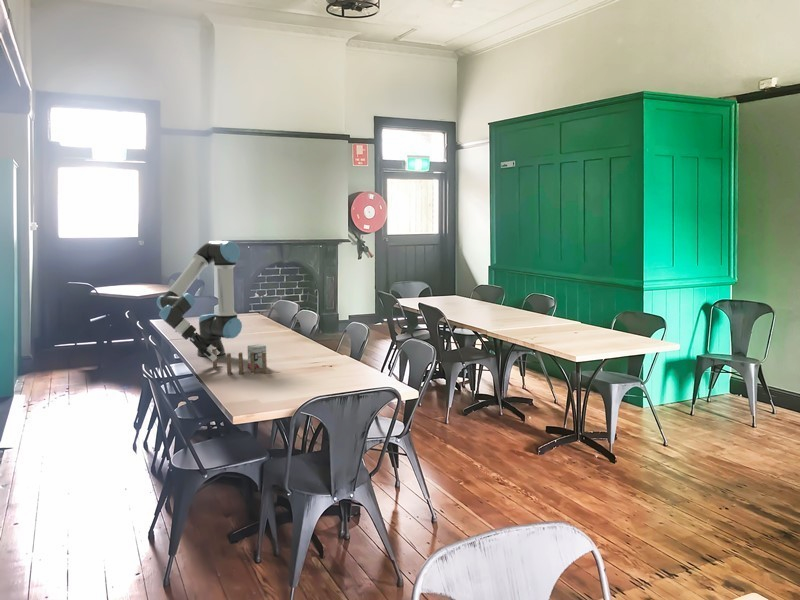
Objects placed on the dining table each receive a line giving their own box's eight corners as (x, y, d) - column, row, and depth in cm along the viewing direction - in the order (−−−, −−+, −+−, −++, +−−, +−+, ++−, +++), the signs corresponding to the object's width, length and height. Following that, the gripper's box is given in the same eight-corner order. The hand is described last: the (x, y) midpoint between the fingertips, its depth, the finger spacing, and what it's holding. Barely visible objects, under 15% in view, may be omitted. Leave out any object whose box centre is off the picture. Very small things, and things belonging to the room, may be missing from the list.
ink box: (251, 369, 350) (250, 347, 348) (247, 368, 353) (246, 345, 352) (267, 367, 355) (266, 345, 353) (263, 365, 359) (262, 343, 357)
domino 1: (228, 372, 344) (227, 353, 342) (231, 372, 344) (230, 352, 343) (227, 374, 339) (226, 355, 337) (230, 374, 339) (229, 354, 338)
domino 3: (251, 371, 345) (250, 352, 344) (254, 371, 346) (254, 351, 344) (250, 373, 340) (250, 354, 339) (254, 373, 341) (253, 353, 339)
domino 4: (263, 371, 346) (262, 351, 345) (266, 370, 346) (265, 351, 345) (262, 373, 341) (261, 353, 340) (266, 373, 342) (265, 353, 340)
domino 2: (239, 372, 344) (239, 352, 343) (243, 371, 345) (242, 352, 343) (239, 374, 340) (238, 354, 338) (242, 374, 340) (241, 354, 339)
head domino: (214, 366, 359) (213, 347, 358) (217, 366, 359) (216, 347, 358) (212, 368, 354) (212, 349, 353) (216, 368, 354) (215, 349, 353)
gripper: (184, 330, 364) (214, 357, 368) (176, 339, 339) (208, 367, 343) (194, 320, 364) (224, 347, 368) (187, 328, 340) (219, 356, 344)
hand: (216, 357), depth 356 cm, fingers open, 13 cm apart
